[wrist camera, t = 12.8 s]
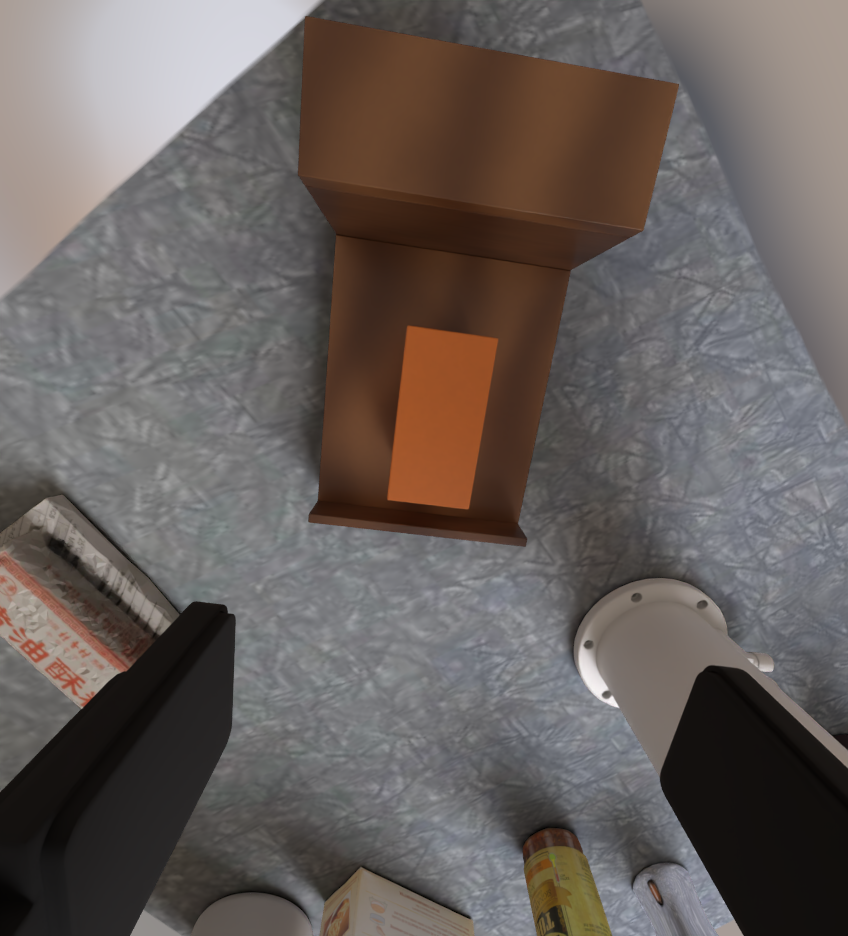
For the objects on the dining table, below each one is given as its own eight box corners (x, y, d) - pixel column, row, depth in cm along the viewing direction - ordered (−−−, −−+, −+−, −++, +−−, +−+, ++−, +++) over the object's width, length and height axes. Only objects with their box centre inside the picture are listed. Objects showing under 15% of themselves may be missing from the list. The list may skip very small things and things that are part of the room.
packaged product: (196, 702, 30) (98, 763, 31) (226, 655, 34) (139, 709, 36) (0, 513, 26) (-104, 592, 27) (64, 488, 30) (-28, 557, 32)
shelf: (571, 194, 26) (680, 83, 15) (507, 515, 32) (554, 595, 21) (351, 158, 25) (304, 14, 14) (326, 493, 31) (280, 566, 20)
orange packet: (473, 343, 25) (498, 338, 18) (453, 466, 27) (468, 510, 20) (409, 334, 25) (407, 324, 17) (394, 459, 27) (386, 500, 19)
